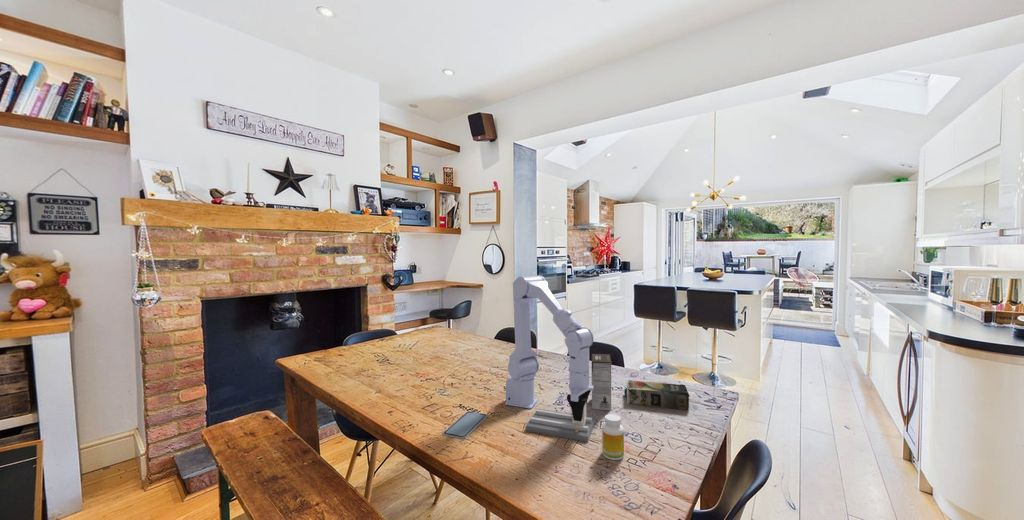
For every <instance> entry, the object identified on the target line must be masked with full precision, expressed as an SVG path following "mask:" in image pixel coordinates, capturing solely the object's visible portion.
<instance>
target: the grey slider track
mask: <svg viewBox="0 0 1024 520" xmlns="http://www.w3.org/2000/svg"><path fill="white" fill-rule="evenodd" d="M595 423H596V417H593V416H588V415H586V423H585V426H582V425H576V424H572V413H567V412H561V411H555V410H548V409H544V408H543V409H540V408H537V409H536V410H535V412H534V414H533V415H532V416H531V417H530V419H529V421H528V422H527V423H526V424H525V431H526V432H532V433H535V434H536V433H537V434H543V435H547V436H552V437H553V436H554V437H559V438H565V439H568V440H569V439H571V440H575V441H580V442H587V443H588V442H589V440H590V439H591V438H590V437H591V435H592V432H593V429H594V426H595Z"/></svg>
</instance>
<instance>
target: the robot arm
mask: <svg viewBox="0 0 1024 520" xmlns="http://www.w3.org/2000/svg"><path fill="white" fill-rule="evenodd" d="M512 296H513V297H512V298H513V301H512V303H513V320H514V321H513V322H514V323H513V325H514V342H515V345H514V346H515V349H514V350H513V351H512V352H511V353H510V354H509V356H508V357H509V359H508V365H507V372H508V374H509V375H508V376H507V379H506V382H505V402H504V405H506V406H512V407H517V408H525V409H530V410H531V409H532V408H533V407H534V406H535V405H536V403H537V402H538V400H539V398H537V397H535V377H536V376H537V373H538V372H539V370H540V363H539V361H538V354H537V352H536V351H535V350H533V349H532V338H531V337H532V336H531V333H532V331H531V316H530V315H531V313H530V310H531V309H530V303H531V302H532V301H533V300H534V298H535V299H538V300H539V301H540V302H541V303H542V304H543V305H544V307H545V308H546V309H547V310H548V311H549V312H550V313H551V314H552V315H553V316H552V322H553V323H554V324H555V325H556V327H557V328H558V330H560V331H559V332H561V333H562V334H563V336H564V337H565V338H564V343H565V346H566V347H567V353H568V356H569V358H568V359H569V360H568V363H569V364H568V365H569V369H568V370H569V373H568V374H569V375H568V377H569V379H568V380H569V384H568V388H569V392H570V393H568V394H567V396H566V400H567V403H568V404H569V406H570V410H571V414H573V419H574V420H575V421H581V420H582V416H583V409H584V405H585V402H586V406H587V405H588V400H589V399H588V398H589V395H590V394H591V393H592V390H593V389H594V386H592V384H590V347H591V346H593V343H594V334H593V332H592V330H591V329H590V328H589V327H587V326H586V327H585V326H583V324H580V322H579V321H578V320H577V319H576V317H574V315H573V312H572V311H571V310H569V309H568V308H562V306H561V304H560V303H559V301H558V300H557V299H556V297H555V296H554V294H553V293H552V291H551V289H550V288H549V282H548V281H547V280H546V279H545V277H544V276H543V275H539V274H538V275H531V276H518V277H517V278H515V280H514V281H513V282H512Z"/></svg>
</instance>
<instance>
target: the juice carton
mask: <svg viewBox="0 0 1024 520" xmlns="http://www.w3.org/2000/svg"><path fill="white" fill-rule="evenodd" d="M626 382H627V384H626V388H624V389H623V393H624V396H625V397H626V401H627V402H626V403H627V405H635V406H646V407H653V408H663V409H671V410H679V411H689V409H690V399H689V398H690V394H689V392H688V389H687V387H686V385H685V384H675V383H665V382H656V381H655V382H654V381H653V382H652V381H643V380H630V379H628V380H627V381H626Z"/></svg>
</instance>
